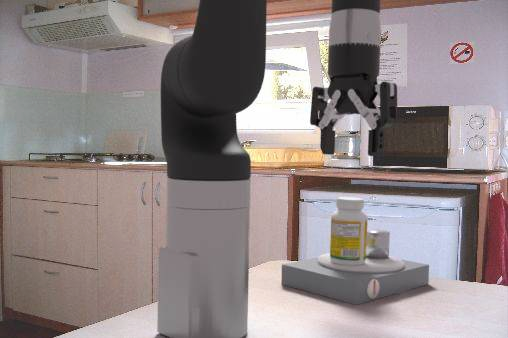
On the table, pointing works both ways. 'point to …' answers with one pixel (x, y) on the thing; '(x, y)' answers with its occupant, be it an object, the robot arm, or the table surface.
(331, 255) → the supplement bottle
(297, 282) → the scale
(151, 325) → the table surface
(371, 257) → the cylinder
